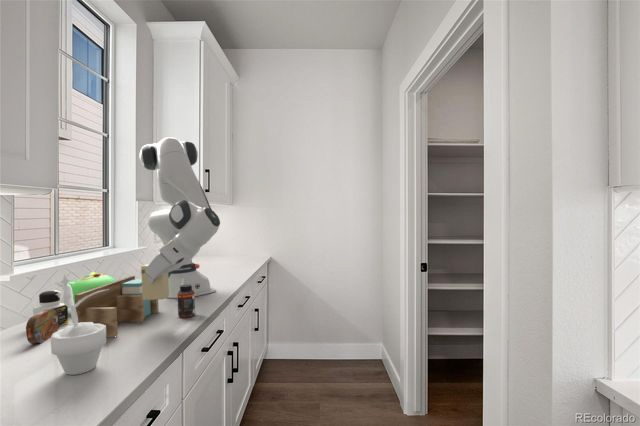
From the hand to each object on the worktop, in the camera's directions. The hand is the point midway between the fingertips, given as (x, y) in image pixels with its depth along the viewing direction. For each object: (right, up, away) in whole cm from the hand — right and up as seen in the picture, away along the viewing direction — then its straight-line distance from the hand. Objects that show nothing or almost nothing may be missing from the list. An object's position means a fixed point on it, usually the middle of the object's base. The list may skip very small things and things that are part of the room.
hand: (153, 280), depth 121 cm
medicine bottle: (-38, -17, +5) cm, 42 cm away
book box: (+1, -6, 0) cm, 6 cm away
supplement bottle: (+6, -16, +13) cm, 22 cm away
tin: (-31, -17, -7) cm, 36 cm away
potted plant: (-4, -17, -30) cm, 35 cm away
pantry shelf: (-13, -16, +5) cm, 21 cm away
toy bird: (-36, -17, +26) cm, 47 cm away
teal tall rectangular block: (-12, -16, +14) cm, 25 cm away
